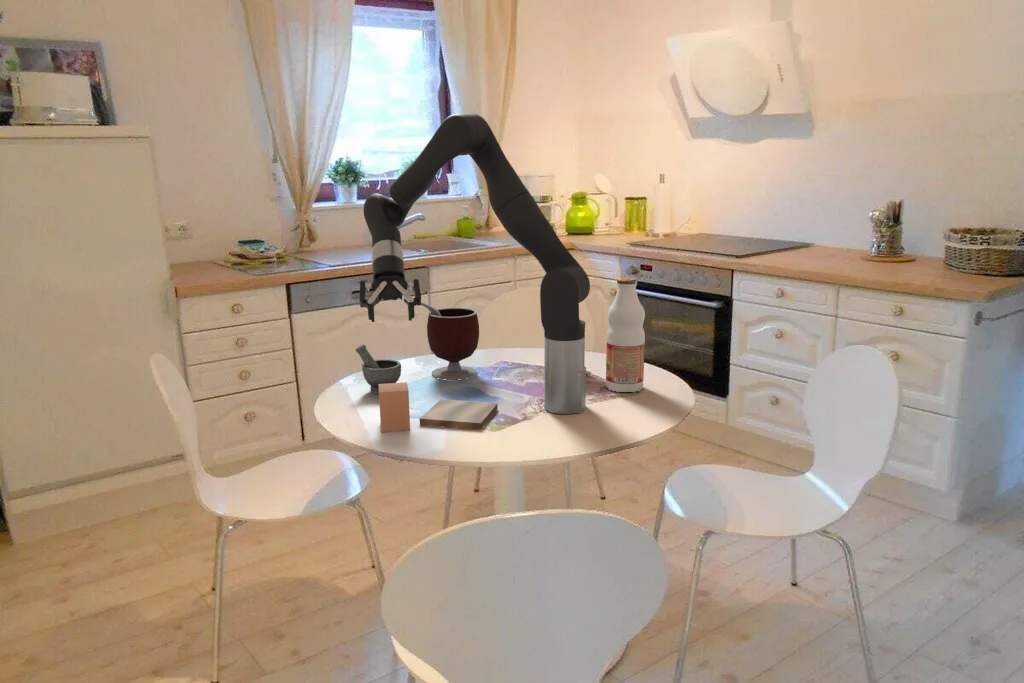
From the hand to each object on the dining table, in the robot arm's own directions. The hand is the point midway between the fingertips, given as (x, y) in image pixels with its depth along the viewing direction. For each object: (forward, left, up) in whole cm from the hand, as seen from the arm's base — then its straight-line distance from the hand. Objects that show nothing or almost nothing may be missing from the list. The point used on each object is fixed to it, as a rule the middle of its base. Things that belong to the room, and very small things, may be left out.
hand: (391, 319), depth 178 cm
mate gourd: (-4, -29, -21) cm, 36 cm away
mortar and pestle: (+9, -11, -21) cm, 25 cm away
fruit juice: (-51, -26, -21) cm, 61 cm away
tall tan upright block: (-5, +13, -21) cm, 25 cm away
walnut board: (-17, +4, -21) cm, 28 cm away
